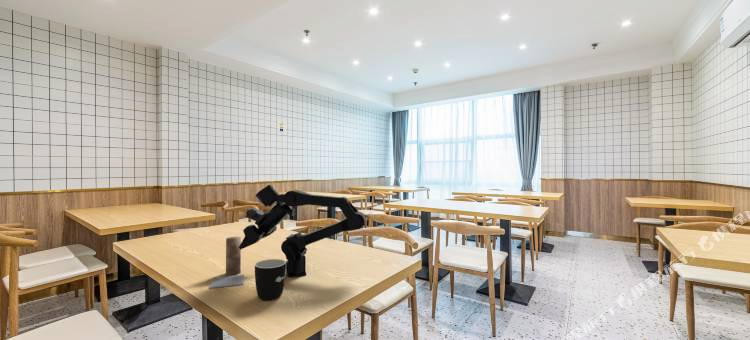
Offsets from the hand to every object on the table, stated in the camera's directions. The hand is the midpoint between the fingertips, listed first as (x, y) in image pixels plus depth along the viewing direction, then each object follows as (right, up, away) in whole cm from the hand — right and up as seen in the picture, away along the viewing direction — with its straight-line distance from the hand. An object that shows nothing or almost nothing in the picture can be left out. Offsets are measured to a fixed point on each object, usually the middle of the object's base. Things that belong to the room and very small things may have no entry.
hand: (245, 245), depth 114 cm
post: (-5, -10, 0) cm, 11 cm away
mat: (-2, -10, -9) cm, 14 cm away
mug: (+17, -11, -20) cm, 28 cm away
